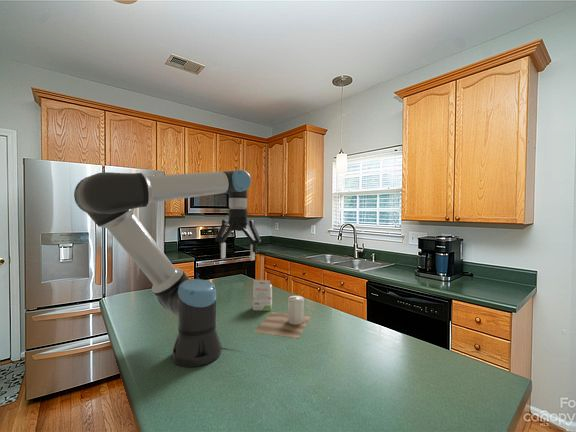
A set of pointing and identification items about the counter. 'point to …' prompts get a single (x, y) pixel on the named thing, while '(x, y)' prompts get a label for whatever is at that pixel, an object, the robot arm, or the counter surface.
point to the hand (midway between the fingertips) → (237, 259)
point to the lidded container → (295, 309)
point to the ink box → (262, 295)
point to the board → (281, 326)
